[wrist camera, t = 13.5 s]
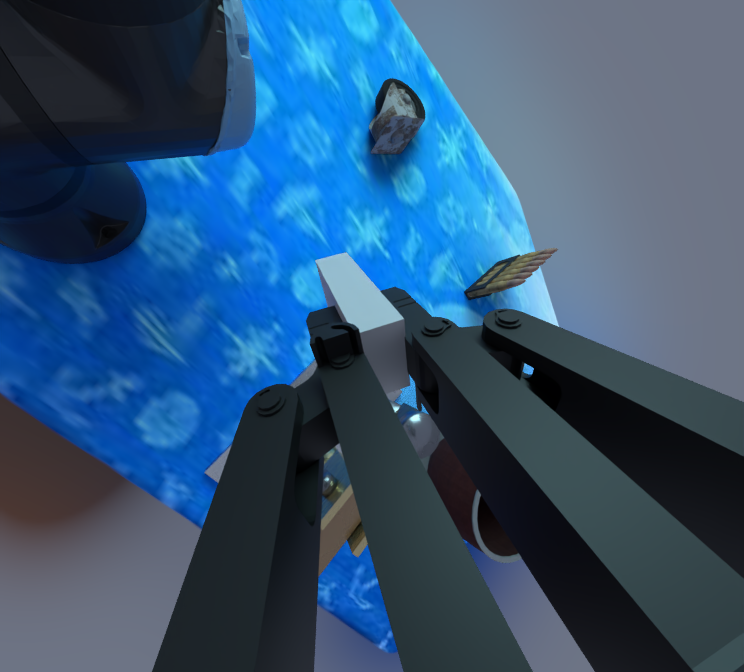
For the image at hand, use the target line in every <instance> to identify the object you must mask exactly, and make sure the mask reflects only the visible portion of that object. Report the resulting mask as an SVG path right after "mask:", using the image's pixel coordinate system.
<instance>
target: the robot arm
mask: <svg viewBox="0 0 744 672" xmlns="http://www.w3.org/2000/svg"><path fill="white" fill-rule="evenodd" d="M255 116H256V90H255V75H254V66H253V60H252V58H251V55H250V53H249V35H248V28H247V23H246V18H245V13H244V9H243V5H242V2H241V0H0V243H1V244H2V245H4V246H6V247H9V248H11V249H13V250H16V251H18V252H21V253H24V254H27V255H30V256H32V257H35V258H38V259H42V260H46V261H51V262H57V263H70V264H75V263H88V262H94V261H98V260H102V259H105V258H108V257H110V256H112V255H114V254H116V253H118V252H120V251H122V250H123V249H124V248H126V247H127V246H128V245H129V244H130V243H131V242H132V241H133V240H134V239H135V238H136V237H137V235H138V234H139V232H140V230H141V229H142V226H143V224H144V221H145V216H146V200H145V195H144V192H143V189H142V186H141V184H140V182H139V180H138V178H137V177H136V175H135V174H134V172H133V171H132V170H131V168H130V167H129V166H128V165H127V163H126V162H131V161H142V160H153V159H164V158H176V157H187V156H198V155H203V156H208V155H213V154H215V153H216V152H220V151H226V150H231V149H237V148H240V147H242V146H244V145H245V144H246V143H247V142H248V141H249V139H250V138H251V135H252V133H253V129H254V125H255ZM315 261H316V265H317V268H318V272H319V276H320V279H321V283H322V287H323V290H324V294H325V298H326V301H327V305H328V307H327V308H324V309H321V310H317V311H314V312H310V313H309V315H308V318H307V320H306V322H307V326H308V329H309V333H310V337H311V338H310V346H311V349H312V351H313V354H314V357H315V360H316V363H317V367H316V370H315V372H314V373H313V375H312V376H311V377H310V378H309V379H308V380H306V381H305V382H303V383H302V384H300V385H299V386H297V387H296V388H293V387H292V386H289V385H287V384H276V385H272V386H269V387H266V388H264V389H263V390H261V391H259V392H257V393H256V394H255V395H254V396H253V397H252V398H251V399H250V400H249V402H248V403H247V405H246V407H245V408H244V411H243V414H242V417H241V420H240V423H239V426H238V428H237V431H236V434H235V437H234V440H233V443H232V446H231V448H230V451H229V454H228V457H227V460H226V463H225V465H224V468H223V471H222V474H221V477H220V480H219V483H218V485H217V488H216V491H215V494H214V497H213V500H212V503H211V505H210V508H209V511H208V514H207V517H206V520H205V522H204V525H203V528H202V531H201V534H200V537H199V540H198V543H197V545H196V548H195V551H194V554H193V557H192V560H191V563H190V565H189V568H188V571H187V574H186V577H185V579H184V582H183V585H182V588H181V591H180V594H179V597H178V599H177V602H176V605H175V608H174V611H173V614H172V616H171V619H170V622H169V625H168V628H167V631H166V634H165V637H164V639H163V642H162V645H161V648H160V651H159V654H158V656H157V659H156V662H155V665H154V668H153V671H152V672H314V656H315V636H316V615H317V595H318V575H319V554H320V534H321V513H322V493H323V473H324V455H325V454H326V453H327V452H329V451H330V450H331V449H333V448H334V447H335V446H336V445H338V444H339V443H340V447H341V451H342V454H343V458H344V461H345V465H346V468H347V472H348V476H349V479H350V483H351V486H352V490H353V493H354V497H355V500H356V504H357V508H358V511H359V515H360V518H361V522H362V525H363V529H364V532H365V536H366V540H367V543H368V547H369V550H370V554H371V557H372V561H373V564H374V568H375V572H376V575H377V579H378V582H379V586H380V589H381V593H382V596H383V600H384V604H385V607H386V611H387V614H388V618H389V621H390V625H391V629H392V632H393V636H394V639H395V643H396V646H397V650H398V653H399V657H400V661H401V664H402V668H403V671H404V672H533V671H532V669H531V667H530V666H529V664H528V662H527V660H526V658H525V656H524V654H523V652H522V651H521V649H520V647H519V645H518V643H517V641H516V639H515V637H514V636H513V633H512V632H511V630H510V628H509V626H508V624H507V622H506V620H505V618H504V617H503V615H502V613H501V611H500V609H499V607H498V605H497V603H496V601H495V599H494V598H493V596H492V594H491V592H490V590H489V588H488V586H487V585H486V582H485V581H484V579H483V577H482V575H481V573H480V571H479V569H478V567H477V566H476V564H475V562H474V560H473V558H472V556H471V554H470V552H469V550H468V549H467V547H466V545H465V543H464V541H463V539H462V537H461V535H460V533H459V531H458V530H457V528H456V526H455V524H454V522H453V520H452V518H451V516H450V514H449V513H448V511H447V509H446V507H445V505H444V503H443V501H442V499H441V497H440V496H439V494H438V492H437V490H436V488H435V486H434V484H433V482H432V480H431V479H430V477H429V475H428V473H427V471H426V469H425V467H424V465H423V463H422V462H421V460H420V458H419V456H418V454H417V452H416V450H415V448H414V446H413V444H412V443H411V441H410V439H409V437H408V435H407V433H406V431H405V429H404V427H403V426H402V424H401V422H400V420H399V418H398V416H397V414H396V412H395V410H394V409H393V407H392V405H391V403H390V401H389V399H388V397H387V395H386V394H388V393H391V392H393V391H396V390H399V389H402V388H404V387H407V386H410V379H409V374H410V376H411V377H412V379H413V380H414V382H415V387H416V401H417V408H418V411H419V412H420V411H422V406H421V403H422V404H423V406H424V407H425V409H426V410H427V412H428V413H429V415H430V416H431V418H432V420H433V421H434V423H435V424H436V426H437V427H438V429H439V430H440V432H441V434H442V435H443V437H444V438H445V440H446V441H447V443H448V444H449V446H450V447H451V449H452V451H453V452H454V454H455V455H456V457H457V458H458V460H459V461H460V463H461V465H462V466H463V468H464V469H465V471H466V472H467V474H468V475H469V477H470V479H471V480H472V482H473V483H474V485H475V486H476V488H477V489H478V491H479V492H480V494H481V496H482V497H483V499H484V500H485V502H486V503H487V505H488V506H489V508H490V510H491V511H492V513H493V514H494V516H495V517H496V519H497V520H498V522H499V524H500V525H501V527H502V528H503V530H504V531H505V533H506V534H507V536H508V537H509V539H510V541H511V542H512V544H513V545H514V547H515V548H516V550H517V551H518V553H519V555H520V556H521V558H522V559H523V561H524V562H525V564H526V565H527V567H528V568H529V570H530V572H531V573H532V575H533V576H534V578H535V579H536V581H537V582H538V584H539V586H540V587H541V589H542V590H543V592H544V593H545V595H546V596H547V598H548V600H549V601H550V603H551V604H552V606H553V607H554V609H555V610H556V612H557V613H558V615H559V616H560V618H561V619H562V621H563V623H564V624H565V626H566V627H567V629H568V630H569V632H570V634H571V635H572V637H573V638H574V640H575V641H576V643H577V644H578V646H579V648H580V649H581V651H582V652H583V654H584V655H585V657H586V658H587V660H588V662H589V663H590V665H591V666H592V668H593V669H594V671H595V672H744V402H742V401H739V400H737V399H734V398H732V397H729V396H727V395H724V394H722V393H720V392H717V391H715V390H712V389H710V388H707V387H705V386H702V385H700V384H698V383H695V382H693V381H690V380H688V379H685V378H683V377H680V376H678V375H675V374H673V373H671V372H668V371H665V370H663V369H661V368H658V367H656V366H653V365H650V364H649V363H646V362H644V361H641V360H639V359H636V358H634V357H631V356H629V355H626V354H624V353H621V352H619V351H617V350H614V349H612V348H609V347H607V346H604V345H602V344H599V343H596V342H594V341H592V340H590V339H587V338H584V337H582V336H580V335H577V334H575V333H572V332H570V331H567V330H565V329H563V328H560V327H558V326H555V325H553V324H550V323H548V322H545V321H543V320H541V319H538V318H536V317H533V316H531V315H528V314H526V313H523V312H520V311H517V310H512V309H498V310H494V311H491V312H488V313H487V314H486V315H485V316H484V320H483V325H482V326H473V327H458V326H457V325H456V324H455V323H453V322H452V321H450V320H448V319H445V318H441V317H432V316H431V315H430V314H429V313H428V312H427V311H426V310H425V309H423V308H422V307H421V306H420V305H419V304H418V303H416V301H415V300H414V299H413V298H411V296H410V295H409V294H408V293H407V292H406V291H404V290H402V289H399V288H396V287H393V288H389V289H386V290H382V291H380V290H379V289H378V288H377V287H376V286H375V285H374V283H373V282H372V281H371V280H370V279H369V278H368V277H367V275H366V274H365V273H364V272H363V271H362V270H361V269H360V267H359V266H358V265H357V264H356V263H355V262H354V260H353V259H352V258H351V257H350V256H349V255H348V254H347V252H345V253H342V254H338V255H334V256H330V257H326V258H322V259H318V260H315ZM524 363H526V364H527V365H529V366H531V367H533V368H534V370H533V374H532V375H528V374H526V373H524V372H523V367H524Z"/></svg>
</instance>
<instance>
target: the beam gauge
mask: <svg viewBox="0 0 744 672" xmlns="http://www.w3.org/2000/svg"><path fill="white" fill-rule="evenodd" d="M316 367H317V363H316V360H315V359H314V360H313V361H312V362H311V363H310V364H309V365H308V366H307V367H306V368H305V369H304V370H303V371H302V372H301V374H300V375H299V376H298V377H297V378H296V379H295V380H294V381H293V382H292V383H291V384H290V385H289V386H292V387H293V388H296V387H297V386H299V385H300V384H302V383H303V382H305V381H306V380H308V379H309V378H310V377H311V376H312V375H313V373H314V372H315V370H316ZM401 393H402V391H401V390H400V389H399V390H396V391H393V392H391V393H388V394H386V395H387V397H388V399H389V401H390V403H391V405H392V407H393V409H394V410H395V412H396V414H397V416H398V418H399V420H400V422H401V424H402V426H403V427H404V429H405V431H406V433H407V435H408V437H409V439H410V441H411V443H412V444H413V446H414V448H415V450H416V452H417V454H418V456H419V458H420V459H422V458H425V457H427V456H429V455H431V454H432V453H433V452H434V451H435V449H436V448H437V446H438V444H439V441H440V430H439V429H438V427H437V426H436V424H435V423H434V421H433V420H432V418H431V416H430V415H428V414H426V413H424V412H422V411H420V412H419V411H418V410H417V409H416V408H413V407H411V406H409V405H407V404H405V403H403V404H402V405H399V404H397V403H395V402H394V401H395V400H396V399H397V398H398V396H399V395H400V394H401ZM232 443H233V442H232ZM232 443H231V444H230V445H229V446H228V447H227V448H226V449H225V450H224V451H223V452H222V453H221V454H220V456H219V457H218V458H217V459H216V460H215V461H214V462H213V463H212V464H211V465H210V466H209V467H208V468H207V469H206V470H205V472H204V473H206V474H207V475H208V476H210V477H211V478H212V479H214V480H215V481H216V482H218V483H219V480H220V477H221V474H222V471H223V468H224V465H225V463H226V460H227V457H228V454H229V451H230V448H231V446H232ZM336 448H337V450H338V451H340V452H341V453H342V451H341V447H340V443H339V444H338V445H336ZM360 522H361V518H360V515H359V511H358V508H357V504H356V500H355V497H354V493H352V494H351V496H350V497H349V498H348V499H347V501H346V502H345V503H344V504H343V506H342V507H341V508H340V509H339V511H338V512H337V513H336V514H335V516H334V517H333V518H332V519H331V521H330V522H329V523H328V524H327V526H326V527H325V528H324V529H323V530H322V529H321V534H320V554H319V575H320V574H321V573H322V572H323V570H324V569H325V568H326V566H327V565H328V564H329V562H330V561H331V560H332V558H333V557H334V556H335V555H336V553H337V552H338V551H339V549H340V548H341V547H342V545H343V544H344V543H345V542H346V540H347V539H348V538H349V536H350V535H351V534H352V532H353V531H354V530H355V528H356V527H357V526H358V525H359V523H360ZM319 575H318V577H319Z"/></svg>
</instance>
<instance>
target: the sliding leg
mask: <svg viewBox="0 0 744 672" xmlns="http://www.w3.org/2000/svg"><path fill="white" fill-rule="evenodd" d="M352 493H353V490H352V486H351V483H350V479H349V476H348V472H347V468H346V465H345V461H344V458H343V454H342V453H341V452H340V451H338V450H337V448H336V446H335V447H334V448H333V449H331V450H330V451H329V452H327V453H326V454H325V455H324V473H323V493H322V513H321V529H322V530H323V529H324V528H325V527H326V526H327V524H328V523H329V522H330V521H331V519H332V518H333V517H334V516H335V514H336V513H337V512H338V511H339V509H340V508H341V507H342V506H343V504H344V503H345V502H346V501H347V499H348V498H349V497H350V496H351V494H352ZM347 541H348V544H349V546H350V549H351V551H352V553H353V554H354V555H355V556H357V557H359V555H360V554H361V553H362V551H363V550H364V548H365V547H366V546H367V544H368V543H367V540H366V536H365V532H364V529H363V525H362V522H360V523H359V525H358V526H357V527H356V528H355V530H354V531H353V532H352V534H351V535H350V536H349V538H348V539H347Z"/></svg>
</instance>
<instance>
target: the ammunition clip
mask: <svg viewBox="0 0 744 672" xmlns="http://www.w3.org/2000/svg"><path fill="white" fill-rule="evenodd" d="M556 251H557V248H551V249H545V250H542V251H537V252H531V253H528V254H525V255H522V256H520V255H517V256H514V257H511V258H508V259H505V260H502V261H499V262H497V263H496V264H495V265H494V266H493V267H491V268H490V269H489V270H488V271H487V272H486V273H485V274H484V275H483V276H481V277H480V278H479V279H478V280H477V281H476V282H475V283H474V284H472V285H471V286H470V287H469V288H468V289H467V290H466V291H465V292H464V293H465V294H466V296H467V297H468V299H469V300H471V299H476V298H480V297H485V296H489V295H491V294H492V293H495V292H500V291H503V290H506V289H509V288H512V287H515V286H518V285H521V284H522V283H524V282H525V281H526V280H524V279H526V278H528V277H530V276H531V275H532V272H534V271H536V270H537V269H538V268H539V267H538V266H540V265H542V264H543V263H544V262H545V260H546V259H548V258H549V257H551V256H552V255H551V254H553V253H554V252H556Z"/></svg>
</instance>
